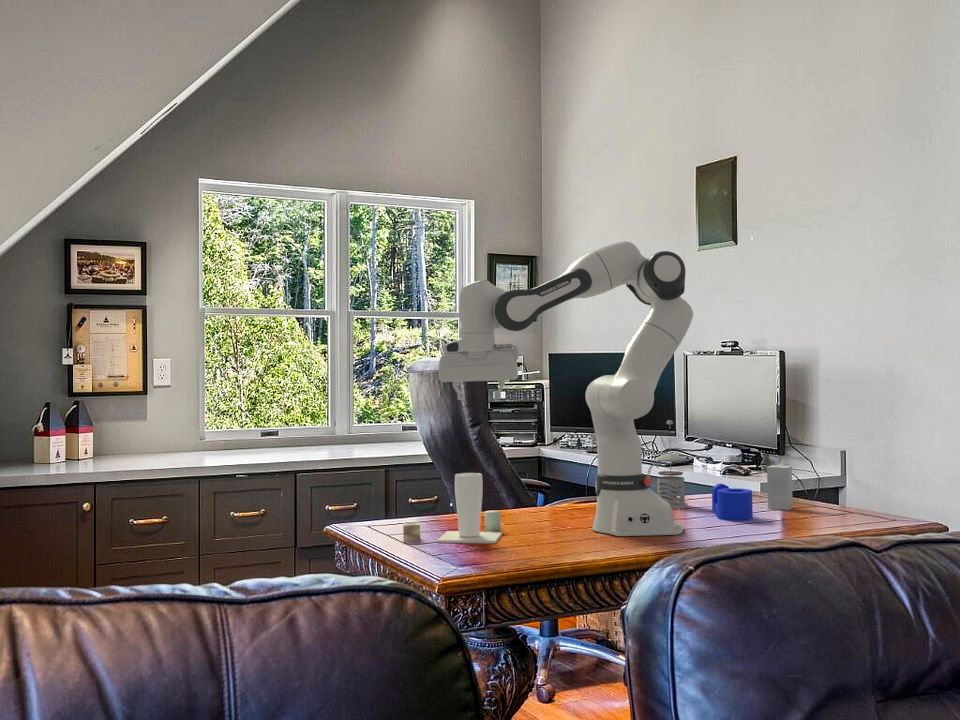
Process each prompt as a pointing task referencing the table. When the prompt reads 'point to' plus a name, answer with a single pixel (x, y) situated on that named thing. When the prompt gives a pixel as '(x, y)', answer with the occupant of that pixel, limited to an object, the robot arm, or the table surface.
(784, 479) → the skincare box
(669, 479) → the french press
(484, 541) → the cream mat
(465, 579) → the table surface
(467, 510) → the drinking glass
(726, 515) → the bracket
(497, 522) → the sage cylinder
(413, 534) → the ash block
